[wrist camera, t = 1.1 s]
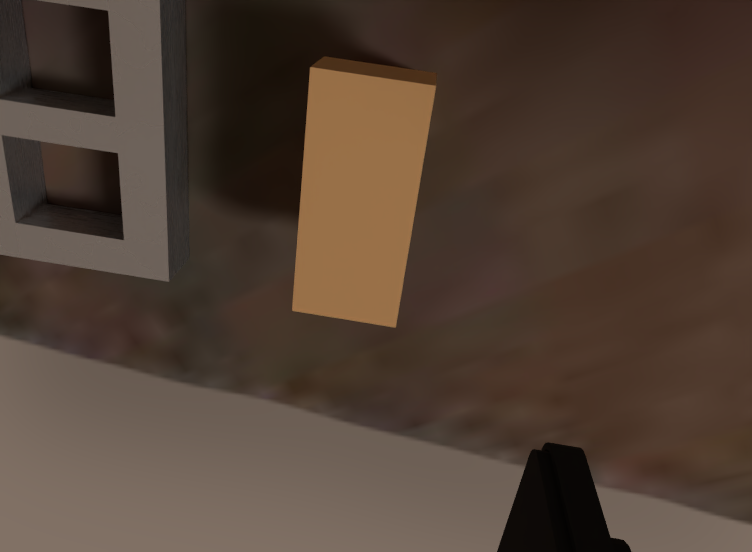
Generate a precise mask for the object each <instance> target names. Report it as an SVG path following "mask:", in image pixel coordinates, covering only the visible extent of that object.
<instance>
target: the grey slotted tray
mask: <svg viewBox="0 0 752 552" xmlns="http://www.w3.org/2000/svg"><path fill="white" fill-rule="evenodd" d="M39 1H46V2H53V3H60V4H66V5H73V6H80V7H87V8H93V9H100V10H107V11H108V16H109V31H110V45H111V59H112V74H113V88H114V100H110V99H103V98H97V97H90V96H83V95H77V94H70V93H64V92H57V91H51V90H44V89H38V88H32V81H31V73H30V66H29V58H28V50H27V42H26V35H25V27H24V19H23V11H22V4H21V0H0V254H1V255H7V256H13V257H19V258H26V259H32V260H38V261H44V262H50V263H56V264H63V265H69V266H75V267H81V268H87V269H94V270H100V271H106V272H112V273H118V274H125V275H131V276H137V277H143V278H149V279H155V280H162V281H168V282H169V281H170V280H171V279H172V278H173V277H174V275H175V274H176V273H177V272H178V271H179V270H180V268H181V267H182V266H183V265H184V264H185V263H186V261H187V260H188V259H189V217H188V153H187V89H186V26H185V0H39ZM39 141H43V142H49V143H56V144H62V145H69V146H75V147H82V148H88V149H94V150H101V151H107V152H114V153H118V160H119V175H120V189H121V204H122V215H117V214H110V213H104V212H98V211H91V210H85V209H79V208H72V207H66V206H60V205H54V204H47V198H46V190H45V182H44V174H43V167H42V159H41V151H40V143H39Z"/></svg>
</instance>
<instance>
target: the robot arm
mask: <svg viewBox="0 0 752 552" xmlns="http://www.w3.org/2000/svg"><path fill="white" fill-rule="evenodd" d="M497 552H631V550H630V547H629V546H628V544H626V542H625V541H624V540H620V539H616V538H610V535H609V531H608V528H607V525H606V521H605V518H604V515H603V512H602V508H601V505H600V502H599V498H598V496H597V492H596V489H595V485H594V482H593V479H592V476H591V472H590V469H589V466H588V463H587V459H586V456H585V453H584V451H583V450H582V449H581V448H578V447H572V446H566V445H560V444H554V443H545V444H544V446H543V448H542V450H535V449H533V450H532V451H531V453H530V455H529V458H528V461H527V464H526V467H525V470H524V473H523V476H522V479H521V482H520V485H519V488H518V491H517V494H516V497H515V500H514V503H513V506H512V509H511V512H510V515H509V518H508V521H507V524H506V527H505V530H504V533H503V536H502V539H501V542H500V545H499V548H498V551H497Z"/></svg>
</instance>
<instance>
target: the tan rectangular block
mask: <svg viewBox="0 0 752 552" xmlns="http://www.w3.org/2000/svg"><path fill="white" fill-rule="evenodd" d="M436 80H437V73H433V72H426V71H420V70H413V69H406V68H399V67H393V66H386V65H379V64H373V63H366V62H359V61H352V60H346V59H339V58H332V57H326V56H324V57H323V58H321V59H320V60H319V61H317V62H316V63H315V64H314V65H312V66H311V67H310V77H309V90H308V104H307V117H306V131H305V144H304V158H303V171H302V185H301V198H300V212H299V225H298V239H297V253H296V266H295V280H294V293H293V307H292V311H297V312H303V313H309V314H315V315H322V316H328V317H334V318H340V319H346V320H352V321H359V322H365V323H371V324H377V325H383V326H389V327H396V322H397V316H398V310H399V304H400V298H401V292H402V286H403V280H404V274H405V268H406V262H407V256H408V250H409V245H410V239H411V233H412V227H413V221H414V215H415V209H416V203H417V197H418V191H419V185H420V179H421V173H422V167H423V161H424V155H425V149H426V143H427V137H428V131H429V125H430V119H431V113H432V107H433V101H434V95H435V89H436Z"/></svg>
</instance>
